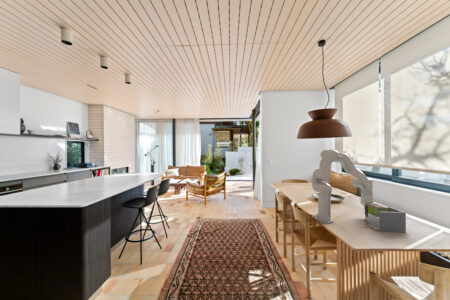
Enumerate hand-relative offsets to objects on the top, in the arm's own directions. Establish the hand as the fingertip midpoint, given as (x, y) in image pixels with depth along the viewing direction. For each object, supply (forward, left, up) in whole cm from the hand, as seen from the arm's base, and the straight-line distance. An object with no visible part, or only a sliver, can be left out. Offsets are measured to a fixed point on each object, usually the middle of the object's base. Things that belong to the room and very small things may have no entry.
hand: (367, 213), depth 166 cm
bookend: (-9, -20, -4) cm, 23 cm away
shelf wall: (0, -20, -4) cm, 21 cm away
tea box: (+1, -11, -4) cm, 11 cm away
